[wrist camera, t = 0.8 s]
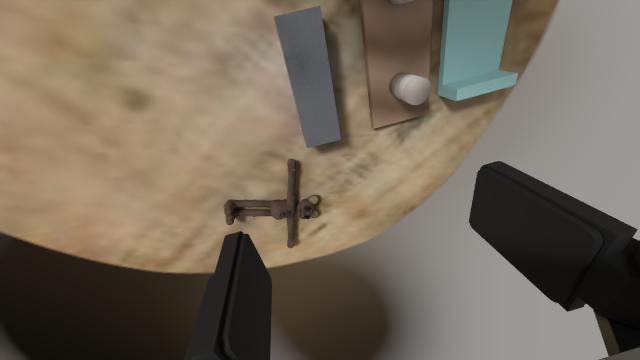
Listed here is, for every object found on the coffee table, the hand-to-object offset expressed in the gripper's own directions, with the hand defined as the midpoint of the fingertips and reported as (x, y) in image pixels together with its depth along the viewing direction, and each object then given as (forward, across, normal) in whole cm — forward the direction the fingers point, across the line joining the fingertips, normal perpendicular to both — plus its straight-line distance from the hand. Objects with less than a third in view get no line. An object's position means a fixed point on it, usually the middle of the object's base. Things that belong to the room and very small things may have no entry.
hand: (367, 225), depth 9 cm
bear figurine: (+25, +9, +14) cm, 31 cm away
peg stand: (+24, -12, -5) cm, 27 cm away
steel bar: (+24, -1, -2) cm, 25 cm away
